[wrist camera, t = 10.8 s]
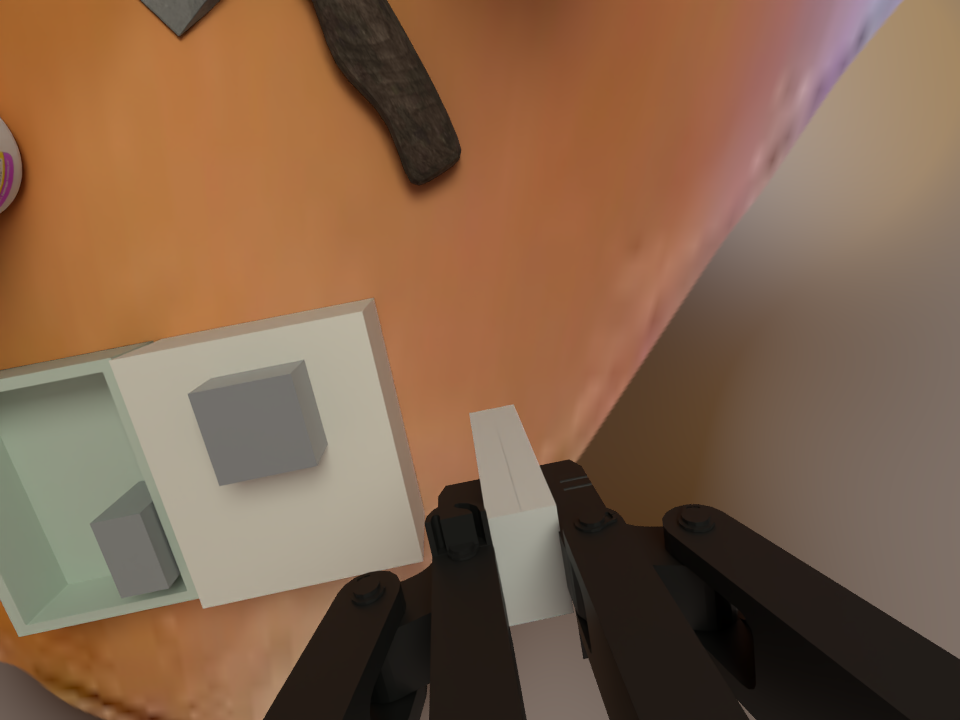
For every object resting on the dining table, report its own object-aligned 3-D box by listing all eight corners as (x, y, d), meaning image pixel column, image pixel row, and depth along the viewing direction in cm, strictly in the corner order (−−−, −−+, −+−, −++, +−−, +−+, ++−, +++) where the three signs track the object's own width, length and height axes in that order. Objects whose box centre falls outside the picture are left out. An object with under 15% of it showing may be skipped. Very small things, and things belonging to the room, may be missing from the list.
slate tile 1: (205, 539, 32) (164, 547, 32) (181, 472, 31) (138, 481, 31) (169, 588, 27) (121, 598, 27) (139, 513, 26) (89, 523, 26)
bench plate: (237, 552, 33) (203, 608, 28) (162, 338, 29) (108, 360, 24) (424, 513, 33) (423, 561, 28) (373, 297, 30) (362, 311, 25)
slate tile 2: (239, 462, 26) (219, 486, 24) (211, 377, 25) (187, 393, 23) (328, 444, 26) (317, 465, 24) (304, 359, 25) (290, 373, 23)
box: (68, 588, 32) (19, 636, 29) (-29, 375, 29) (-100, 398, 25) (229, 554, 33) (201, 597, 29) (153, 340, 29) (110, 357, 25)
